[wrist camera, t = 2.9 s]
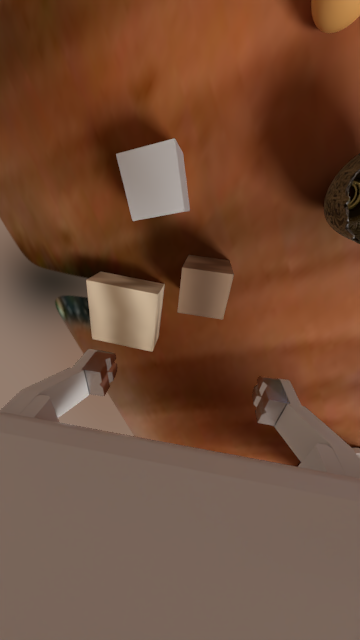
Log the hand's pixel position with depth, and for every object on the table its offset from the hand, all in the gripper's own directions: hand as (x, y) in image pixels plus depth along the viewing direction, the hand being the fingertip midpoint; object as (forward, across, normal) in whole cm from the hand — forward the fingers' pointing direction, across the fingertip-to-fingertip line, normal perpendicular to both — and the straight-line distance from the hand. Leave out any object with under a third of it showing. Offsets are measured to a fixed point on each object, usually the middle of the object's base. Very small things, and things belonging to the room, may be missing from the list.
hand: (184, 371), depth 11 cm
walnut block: (+17, -1, 0) cm, 17 cm away
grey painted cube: (+17, +5, -10) cm, 20 cm away
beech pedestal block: (+17, +9, +5) cm, 20 cm away
